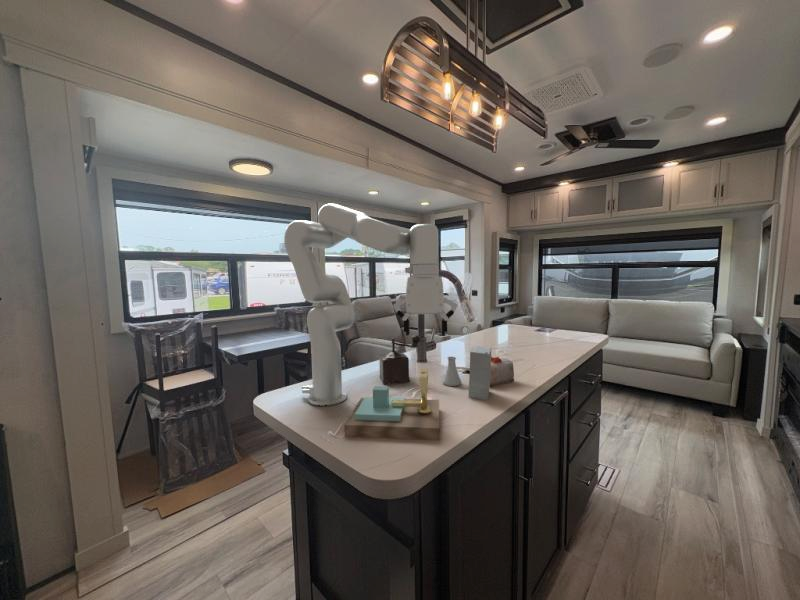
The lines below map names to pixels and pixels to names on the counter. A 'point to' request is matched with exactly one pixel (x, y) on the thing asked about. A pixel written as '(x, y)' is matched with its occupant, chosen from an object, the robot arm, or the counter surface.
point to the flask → (451, 373)
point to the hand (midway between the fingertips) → (425, 334)
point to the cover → (379, 406)
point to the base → (397, 424)
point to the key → (422, 404)
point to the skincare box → (479, 372)
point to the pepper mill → (396, 364)
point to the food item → (501, 371)
